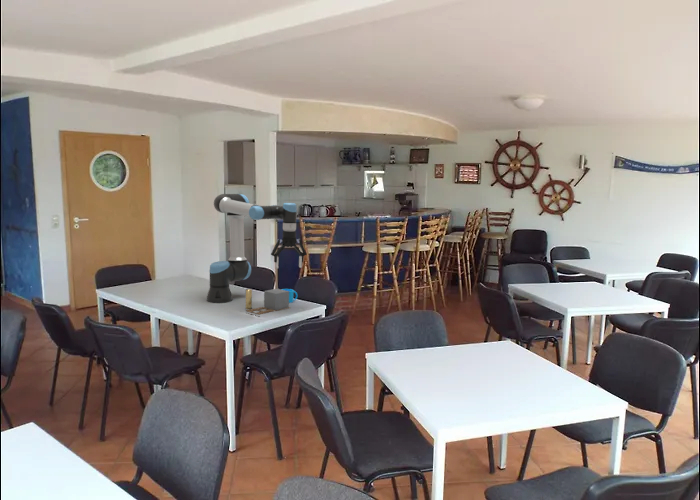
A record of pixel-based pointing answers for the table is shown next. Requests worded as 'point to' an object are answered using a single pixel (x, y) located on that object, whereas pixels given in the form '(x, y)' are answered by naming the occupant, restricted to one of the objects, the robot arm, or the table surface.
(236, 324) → the table surface
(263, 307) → the board
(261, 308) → the build board
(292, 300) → the mug
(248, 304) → the peg
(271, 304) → the block
